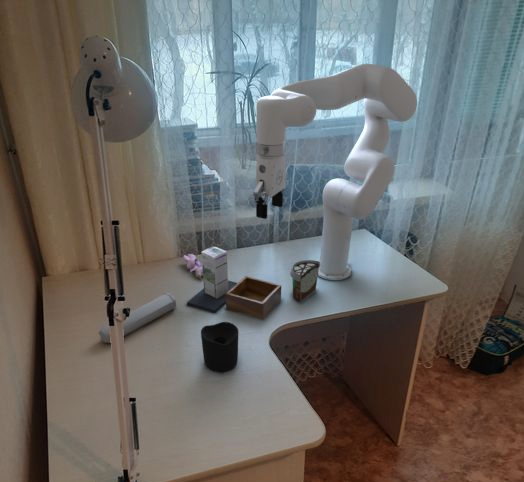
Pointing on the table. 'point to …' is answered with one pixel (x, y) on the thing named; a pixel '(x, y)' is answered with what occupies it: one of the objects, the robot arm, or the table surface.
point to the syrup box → (215, 271)
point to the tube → (143, 315)
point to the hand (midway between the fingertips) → (269, 211)
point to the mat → (209, 300)
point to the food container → (304, 278)
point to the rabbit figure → (194, 265)
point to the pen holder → (220, 346)
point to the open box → (253, 297)
